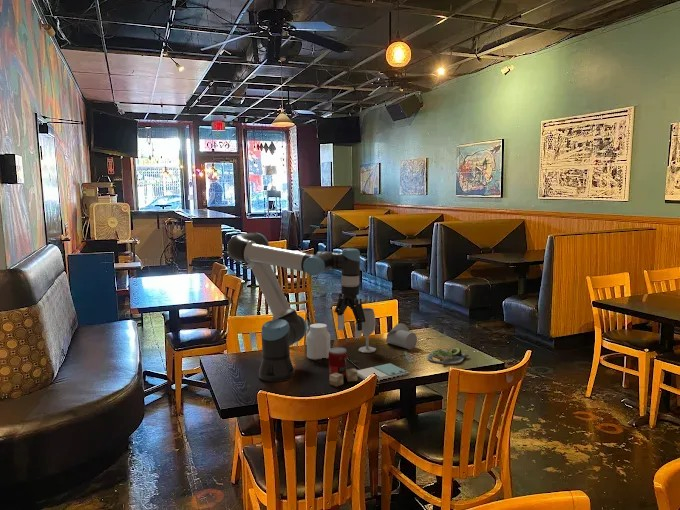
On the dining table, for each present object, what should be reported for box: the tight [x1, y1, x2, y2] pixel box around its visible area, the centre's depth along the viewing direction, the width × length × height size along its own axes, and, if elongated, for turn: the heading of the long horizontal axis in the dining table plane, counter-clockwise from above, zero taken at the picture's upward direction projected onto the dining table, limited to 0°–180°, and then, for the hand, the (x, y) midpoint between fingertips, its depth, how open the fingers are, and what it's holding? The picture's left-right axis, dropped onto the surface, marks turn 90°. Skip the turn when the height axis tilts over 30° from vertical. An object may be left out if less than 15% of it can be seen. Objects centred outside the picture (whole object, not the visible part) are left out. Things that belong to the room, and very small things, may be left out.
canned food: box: [328, 346, 348, 378], centre depth 219 cm, size 8×8×11 cm
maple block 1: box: [328, 373, 344, 388], centre depth 208 cm, size 4×4×4 cm
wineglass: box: [357, 307, 377, 354], centre depth 251 cm, size 9×9×21 cm
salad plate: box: [426, 346, 469, 365], centre depth 237 cm, size 19×18×5 cm
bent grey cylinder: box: [385, 322, 418, 351], centre depth 263 cm, size 18×11×20 cm
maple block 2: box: [345, 368, 358, 382], centre depth 213 cm, size 4×4×4 cm
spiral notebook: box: [356, 362, 410, 382], centre depth 220 cm, size 20×14×1 cm
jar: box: [305, 323, 331, 360], centre depth 244 cm, size 12×10×15 cm
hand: (349, 333), depth 218 cm, fingers open, 13 cm apart
